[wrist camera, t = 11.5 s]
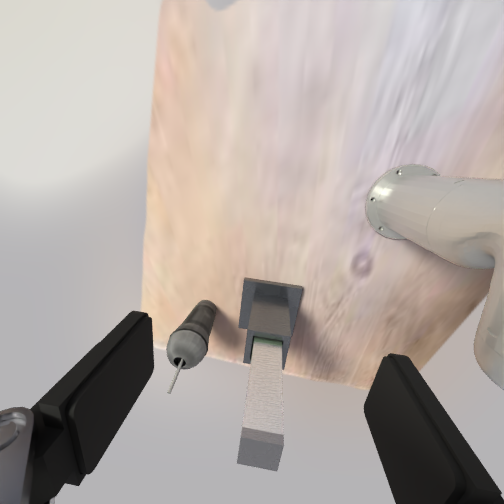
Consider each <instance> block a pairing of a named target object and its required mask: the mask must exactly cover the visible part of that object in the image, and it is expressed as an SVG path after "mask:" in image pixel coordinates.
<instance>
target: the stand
mask: <svg viewBox="0 0 504 504" xmlns="http://www.w3.org/2000/svg"><path fill="white" fill-rule="evenodd" d="M301 294H302V286H297V285H291V284H284V283H277V282H271V281H264V280H258V279H251V278H244V284H243V293H242V301H241V310H240V319H239V328H243V329H248V331H247V338H246V346H245V353H244V361H243V363H248V364H251V357H252V350H253V343H254V337H255V336H259V337H265V338H271V339H277V340H282V370H284V367H285V362H286V358H287V353H288V348H289V344H290V339H291V337H292V335H293V330H294V326H295V321H296V317H297V312H298V307H299V303H300V298H301Z"/></svg>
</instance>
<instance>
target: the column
mask: <svg viewBox="0 0 504 504" xmlns="http://www.w3.org/2000/svg"><path fill="white" fill-rule="evenodd" d="M243 417H244V418H243V424H242V431H241V438H240V445H239V453H238V460H237V463H238V464H243V465H248V466H253V467H258V468H263V469H268V470H273V471H277V470H278V466H279V462H280V458H281V454H282V450H283V446H284V440H283V439H284V437H283V388H282V340H277V339H271V338H265V337H259V336H255V337H254V343H253V350H252V357H251V366H250V374H249V380H248V388H247V395H246V403H245V410H244V416H243Z"/></svg>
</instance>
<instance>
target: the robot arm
mask: <svg viewBox="0 0 504 504" xmlns="http://www.w3.org/2000/svg"><path fill="white" fill-rule="evenodd" d="M397 171H398V173H397V174H396V172H397ZM371 198H373V200H372V201H371ZM365 210H366V216H367V220H368V222H369V224H370V225H371V227H372V228H373V229H374V230H375V231H377V232H378V233H379V234H381V235H383V236H385V237H388V238H391V239H409V240H411V241H412V242H414V243H416V244H418V245H420V246H421V247H423V248H425V249H427V250H429V251H430V252H432V253H434V254H436V255H438V256H440V257H441V258H443V259H445V260H447V261H449V262H451V263H453V264H456V265H458V266H462V267H466V268H473V269H491V268H494V272H493V276H492V279H491V282H490V290H489V293H488V296H487V300H486V303H485V306H484V309H483V313H482V315H481V319H480V322H479V325H478V328H477V331H476V335H475V340H474V354H475V357H476V360H477V362H478V364H479V366H480V367H481V369H482V370H483V372H484V373H485V374H486V375H487V376H488V377H489V378H490V379H491V380H492V381H493V382H494V383H495V384H497V385H498V386H499V387H500V388H502V389H503V390H504V179H483V178H465V177H447V176H440V174H439V173H437V172H436V171H435V170H434V169H432V168H430V167H427V166H423V165H415V164H412V165H403V166H400V167H396V168H394V169H392V170H390V171H388V172H387V173H385V174H384V175H382V176H381V177H380V178H379V179H378V180H377V181H376V182H375V184H374V185H373V186H372V188H371V190H370V192H369V194H368V197H367V200H366V206H365ZM379 227H380V229H379ZM153 369H154V355H153V332H152V318H151V317H149V316H148V313H144V312H138V311H132V312H130V313H129V314H128V315H127V316H126V317H125V318H124V319H123V320H122V321H121V322H120V323H119V324H118V325H117V326H116V327H115V328H114V329H113V330H112V331H111V332H110V333H109V334H108V335H107V336H106V337H105V338H104V339H103V340H102V341H101V342H99V343H98V344H97V345H95V346H94V347H93V348H92V349H91V350H90V351H89V352H88V353H87V354H86V355H85V356H84V357H83V358H82V359H81V360H80V361H79V362H78V363H77V364H76V365H75V366H74V367H73V368H72V369H71V370H70V371H69V372H68V373H67V374H66V375H65V376H64V377H63V378H62V379H61V380H60V381H58V383H56V384H55V385H54V386H53V387H52V388H51V389H50V390H49V391H48V393H46V394H45V395H44V396H43V397H42V398H41V399H40V400H39V401H38V402H37V403H36V404H35V405H34V406H33V407H32V408H31V409H28V408H25V407H13V408H9V409H5V410H2V411H0V504H54V503H55V496H56V495H57V494H58V493H59V491H60V490H61V488H62V486H63V485H64V484H65V483H67V484H71V485H76V486H79V485H80V483H81V482H82V480H83V479H84V477H85V475H86V474H90V473H92V471H93V470H94V469H95V467H96V466H97V464H98V463H99V461H100V459H101V458H102V456H103V454H104V453H105V451H106V449H107V448H108V446H109V445H110V443H111V441H112V439H113V438H114V436H115V435H116V433H117V431H118V430H119V428H120V426H121V425H122V423H123V422H124V420H125V418H126V417H127V415H128V413H129V412H130V410H131V408H132V407H133V405H134V403H135V402H136V400H137V398H138V396H139V395H140V394H141V392H142V390H143V389H144V387H145V385H146V384H147V382H148V380H149V379H150V377H151V375H152V373H153ZM364 413H365V417H366V420H367V423H368V425H369V428H370V431H371V434H372V437H373V439H374V443H375V445H376V448H377V451H378V454H379V457H380V460H381V462H382V465H383V468H384V471H385V474H386V477H387V480H388V482H389V485H390V488H391V491H392V494H393V497H394V500H395V502H396V504H504V500H503V498H502V497H501V494H502V492H501V491H500V490H499V488H498V487H497V485H496V484H495V482H494V481H493V479H492V478H491V476H490V475H489V474H488V472H487V471H486V469H485V468H484V466H483V465H482V463H481V462H480V460H479V459H478V457H477V456H476V455H475V454H474V452H473V450H472V449H471V447H470V446H469V444H468V443H467V441H466V440H465V439H464V437H463V436H462V434H461V433H460V431H459V430H458V428H457V427H456V425H455V424H454V423H453V421H452V420H451V418H450V417H449V415H448V414H447V412H446V411H445V409H444V408H443V406H442V405H441V404H440V402H439V401H438V399H437V398H436V396H435V395H434V393H433V392H432V391H431V389H430V388H429V386H428V385H427V383H426V382H425V380H424V379H423V378H422V376H421V374H420V373H419V372H418V370H417V369H416V367H415V366H414V364H413V363H412V361H411V360H410V359H409V357H407V356H404V355H398V354H392V353H390V354H388V356H387V357H386V356H385V357H384V358H383V359H382V362H381V364H380V367H379V369H378V372H377V374H376V377H375V379H374V381H373V384H372V386H371V389H370V391H369V394H368V397H367V399H366V401H365V404H364Z"/></svg>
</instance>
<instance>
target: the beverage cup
mask: <svg viewBox="0 0 504 504" xmlns="http://www.w3.org/2000/svg"><path fill="white" fill-rule="evenodd" d="M215 314H216V306H215V305H214V303H212V302H211V301H208V300H202V301H200V302H199V303H198V304H197V305H196V306H195V308H194V309H193V310H192V311H191V313H190V314H189V315H188V317H187V318H186V319H185V320H184V322H183V323H182V324H181V326H179V327H178V328H177V329H176V330H175V331H174V332H173V333H172V334H171V335H170V338H169V341H168V344H167V349H166V350H167V357H168V359H169V361H170V363H171V364H172V365H173V366H175V367H176V368H177V371H176V373H175V376H174V378H173V380H172V383H171V385H170V388H169V390H168V392H167V393H169V394H170V393H171V391H172V389H173V386H174V384H175V381H176V379H177V376H178V374H179V372H180V369H190V368H192V367H194V366H196V365H197V364H198V363H199V362H201V360H202V359H203V358H204V356H205V355H206V353H207V351H208V343H209V336H210V333H211V329H212V326H213V322H214V318H215Z"/></svg>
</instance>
